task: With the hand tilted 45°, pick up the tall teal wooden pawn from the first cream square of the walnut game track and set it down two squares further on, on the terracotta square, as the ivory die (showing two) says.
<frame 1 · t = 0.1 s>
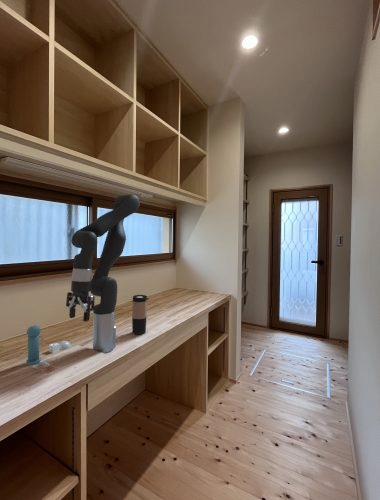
hand: (78, 319, 104), 17 cm above the table, tool pointing down, fingers open, 8 cm apart
travel mug: (139, 333, 138), on the table
pawn: (33, 362, 99), point 1 cm above the table, touching track board
die tray: (59, 351, 112), on the table
track board: (41, 369, 97), on the table
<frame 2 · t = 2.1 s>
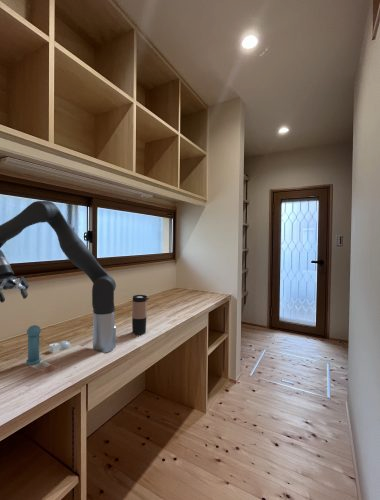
hand: (14, 299, 105), 24 cm above the table, tool tilted 45°, fingers open, 8 cm apart
nothing on the table moved.
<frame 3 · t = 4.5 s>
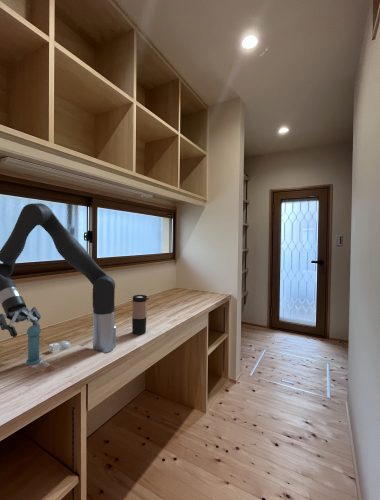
hand: (27, 332, 101), 12 cm above the table, tool tilted 45°, fingers open, 8 cm apart
nothing on the table moved.
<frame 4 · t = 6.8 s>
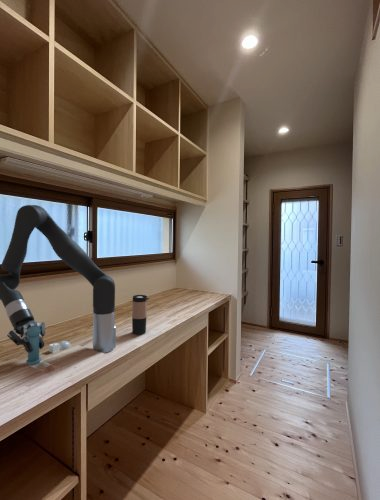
hand: (36, 349, 98), 7 cm above the table, tool tilted 45°, fingers closed on pawn, 3 cm apart
pawn: (33, 362, 99), point 1 cm above the table, touching gripper, track board
everything else where it was.
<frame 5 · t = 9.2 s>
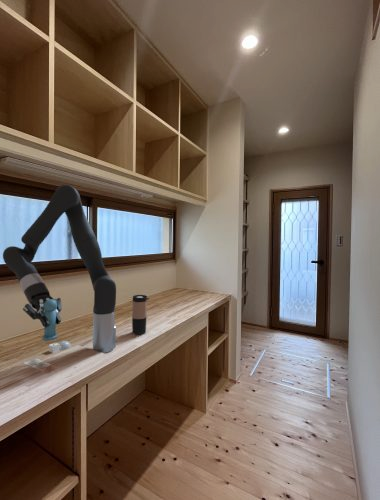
hand: (53, 324, 93), 19 cm above the table, tool tilted 45°, fingers closed on pawn, 3 cm apart
pawn: (49, 338, 94), point 13 cm above the table, touching gripper
everything else where it was.
when the fingers open (8 cm above the table, at t = 11.7 s): pawn drops 1 cm, resting on track board.
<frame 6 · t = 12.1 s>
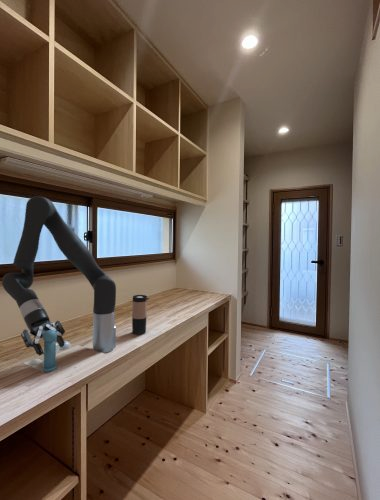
hand: (52, 349, 93), 9 cm above the table, tool tilted 45°, fingers open, 7 cm apart
pawn: (49, 368, 94), point 1 cm above the table, touching track board
everything else where it was.
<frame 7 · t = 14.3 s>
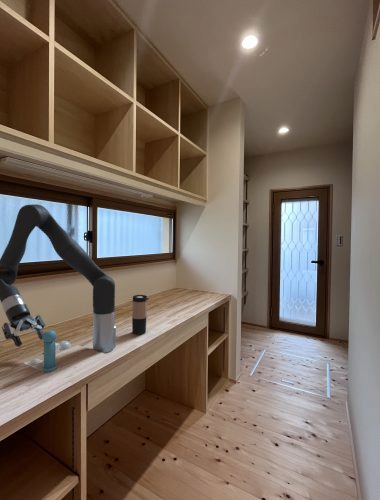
hand: (31, 341, 100), 9 cm above the table, tool tilted 45°, fingers open, 8 cm apart
nothing on the table moved.
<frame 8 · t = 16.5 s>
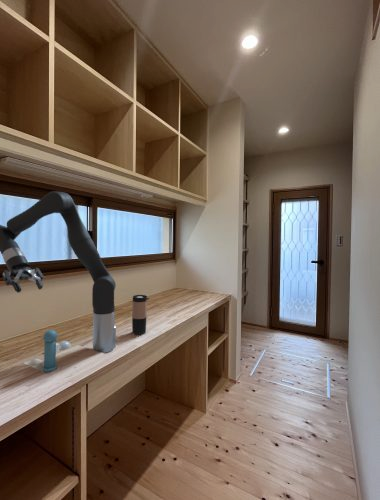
hand: (30, 289, 105), 29 cm above the table, tool tilted 45°, fingers open, 8 cm apart
nothing on the table moved.
at the end: pawn 0.1 cm from the target spot on the track board, point 1.4 cm above the track board's base; pawn tilted 1°; the gripper is holding nothing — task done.
